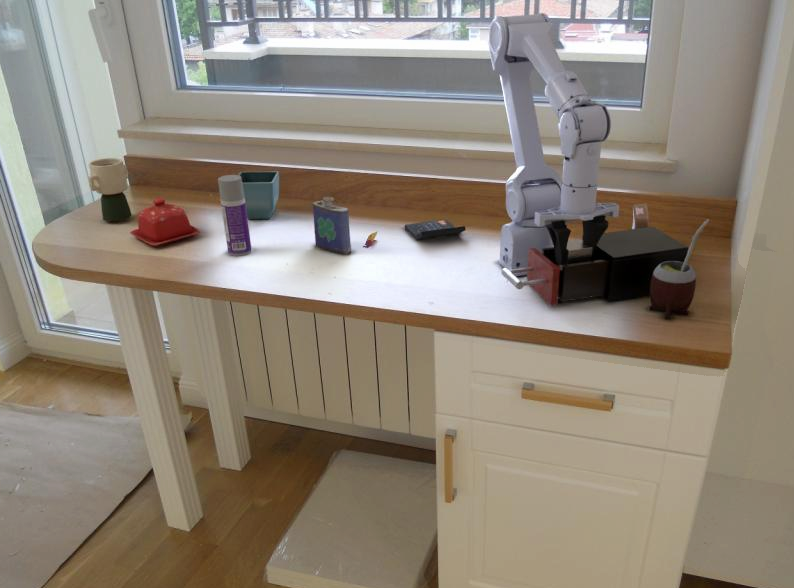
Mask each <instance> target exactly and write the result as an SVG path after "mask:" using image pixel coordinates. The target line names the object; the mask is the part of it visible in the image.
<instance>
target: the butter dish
mask: <svg viewBox="0 0 794 588" xmlns="http://www.w3.org/2000/svg"><path fill="white" fill-rule="evenodd" d="M152 204H153V205H151V206H148V207H145V208H144V209H143V210H141V211H140V212H139V213H138V219H137V220H138V222H137V223H138V225H137V226H138V227H137V228H136V229H132V230H131V231H129V233H130V234H131V235H132V236H134V237H135V238H137V239H139V240H140V241H142V242H144V243H146V244H147V245H150V246H154V247H155V246H162V245H166V244H169V243H170V244H171V243H173V242H177V241H180V240H184V239H188V238H190V237H193V236H195V235H198V234H200V233H201V231H200V230H199V229H198V228H197V227H195V226H193V225H191V223H190V220H189V218H188V215H187V213H186V211H184V209H183V208H181V207H180V206H178V205H176V204H174V203H168V202H166V199H165V198H163V197H156V198H154V199H153V200H152Z"/></svg>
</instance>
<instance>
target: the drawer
mask: <svg viewBox="0 0 794 588" xmlns="http://www.w3.org/2000/svg"><path fill="white" fill-rule="evenodd" d="M611 262H612V260H611V259H610V258H608V257H607V256H606V255H604V254H603V253H601V252H600V251H599V250H597V249H596V248H595V251H594V253H593V256H592V259H591V261H590V262H582V263H575V264H568V265H563V269H562V270H560V268H559V267H558V266H556V257H555V251H554V246H553V247H550V248H543V249H542V253H540V252H539V251H538V250H537V249H535V248H531V249H529V253H528V267H526V268H519V269H512V270H509V269H508V268H504V267H503V268H502V269H501V275H502V276H503V277H504V278H505V279H506V280H507V281H508V282H509V283H511V284H512V285H513V286H514V288H516V289H517V290H522V289H523V288H524V287H530V288H531V289H532V290H533V291H534V292H535V293H536V294H538V295H539V297H541V299H543V300H544V301H545V302H546V303H547V304H548V305H549V306H550V307H552V306H557V305H558V300H560V301H561V302H568V301H574V300H582V299H588V298H595V297H601V296H602V295H608V290H609V281H610V271H611ZM522 272H527V275H526V280H525V281H522V280H521V279H520V278H519V276H515V275H514V274H515V273H522Z"/></svg>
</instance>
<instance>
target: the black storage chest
mask: <svg viewBox="0 0 794 588" xmlns="http://www.w3.org/2000/svg"><path fill="white" fill-rule="evenodd" d="M581 240H583V235H582V237H581ZM596 249H597V250H599V251H600V252H601V253H603V254H604V255H606V256H607V257H608V258H610V259H611V260H612V262H611V271H610V281H609V290H608V295H602V296H600V297H601V298H602V299H603V300H604V301H606V302H607V303H616V302H622V301H623V302H624V301H629V300H636V299H641V298H642V299H643V298H647V297H649V298H650V283H651V278H652V275H653V273H654V270H655V269H656V267H657V266H658V265H659V264H661V263H663V262H667V261H678V262H683V263H684V261H685V258H686V256H687V253H688V251H689V246H687V245H685V244H684V243H683V242H680V241H679V240H677V239H676V238H674V237H672V236H670V235H668V234H667V233H665V232H663V231H662V230H660V229H658V228H657V227H655V226H649V227H646V228H638V229H632V228H631V229H624V230H623V229H622V230H616V231H609V232H604V233H603V235H602V236H601V238H600V240H599V242H598V244H597V246H596Z"/></svg>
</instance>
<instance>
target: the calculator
mask: <svg viewBox="0 0 794 588" xmlns="http://www.w3.org/2000/svg"><path fill="white" fill-rule="evenodd" d="M404 229H405V230H406V232H407V233H408V234H410V235H411V237H412V238H413V239H414V240H415V241H417V240H427V239H432V238H440V237H447V236H454V235H459V234H461V233H463V232H465V231H466V226H465V225H463V226H454V225H453V224H452V223H451V222H450V221H449V220H447V219H439V220H438V219H437V220H430V221H429V220H428V221H423V222H416V223H407V224H404Z"/></svg>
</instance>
